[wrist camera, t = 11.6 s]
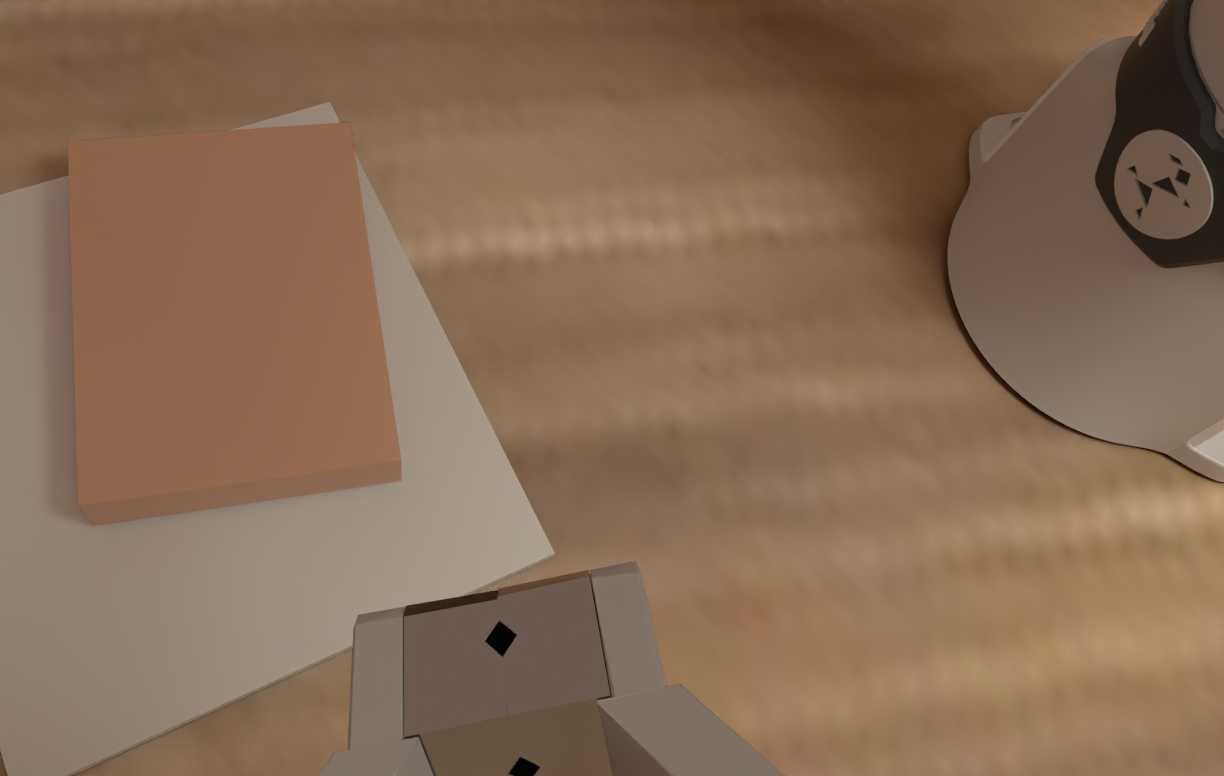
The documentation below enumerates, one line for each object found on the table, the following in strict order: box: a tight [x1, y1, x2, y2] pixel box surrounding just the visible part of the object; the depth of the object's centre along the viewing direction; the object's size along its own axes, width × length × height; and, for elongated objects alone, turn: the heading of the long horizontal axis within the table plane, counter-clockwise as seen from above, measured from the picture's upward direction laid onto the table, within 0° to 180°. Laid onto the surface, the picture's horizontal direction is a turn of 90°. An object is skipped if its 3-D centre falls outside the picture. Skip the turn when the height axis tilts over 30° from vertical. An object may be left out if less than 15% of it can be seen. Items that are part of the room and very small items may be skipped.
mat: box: [0, 102, 555, 776], centre depth 39 cm, size 18×21×1 cm
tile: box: [68, 122, 402, 525], centre depth 39 cm, size 2×10×14 cm
